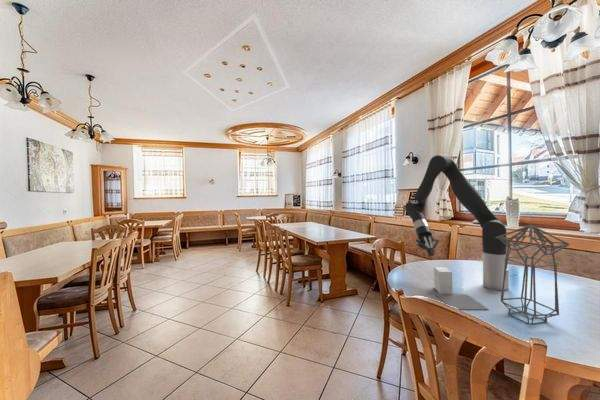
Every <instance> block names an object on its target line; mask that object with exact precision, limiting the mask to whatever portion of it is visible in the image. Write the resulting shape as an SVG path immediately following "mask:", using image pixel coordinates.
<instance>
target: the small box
mask: <svg viewBox="0 0 600 400" xmlns="http://www.w3.org/2000/svg"><path fill="white" fill-rule="evenodd" d="M433 279H434V280H433V282H434V283H433V285H434V289H435V290H436V291H437V292H438V294H453V291H454V290H453V272H452V271H451V270H450V269H449V268H447V267H445V266H444V267H437V266H434V267H433Z"/></svg>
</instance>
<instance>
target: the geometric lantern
mask: <svg viewBox="0 0 600 400" xmlns="http://www.w3.org/2000/svg"><path fill="white" fill-rule="evenodd" d="M527 231H529V232H528V235H526V233H527ZM515 233H516V234H515ZM512 234H514V235H512ZM505 235H506V237H502V236H505ZM508 235H512V236H510V237H507V236H508ZM533 235H534V236H533ZM547 236H548V237H551V238H554V239H555V240H557V241H552V240H551V239H549V238H548V237H547ZM496 238H498V239H499V240H500V241H502V242H503V243H504V244H505V245H506V248H507V249H506V258H504V259H505V266H504V277H503V286H502V290H501V293H500V302H501V303H502V304H503V305H504V306H505V307H506V308H507V310H508V313H507V314H508V315H509V317H512V318H515V319H516V320H518V321H519V322H520V321H521V322H523V323H525V324H527V325H532V324H533V325H537V324H538V325H539V324H546V323H548V318H552V317H555V316H556V317H557V316H560V307H559V291H558V264H557V261H556V259H555V258H556V257H555V254H557V253H558V252H560V251H562V250H563V249H565V248H567V247H569V246H570V242H569V243H568V242H566V241H564V240H562V239H561V238H559V237H557V236H555V235H552V234H551V233H549V232H546V231H545V230H543V229H541V228H539V227H537V226H534V225H526V226H523V227H521V228H518V229H515V230H513V231H510V232H506V234H503V235H500V236H497V237H496ZM526 238H529V243H522V242H523V241H524V240H525V239H526ZM514 239H515V241H513V240H514ZM505 240H506V241H505ZM539 241H540V242H539ZM505 242H506V243H505ZM533 242H535V243H536V245H534V244H533ZM546 243H548V244H549V246H547V245H546ZM554 244H558V245H554ZM511 246H513V248H511ZM521 246H523V247H521ZM516 247H518V248H516ZM529 247H534V248H536V247H537V248H538V250H537V251H535V253H533V255H532V256H528V255H527V253H526V252H525V251H524V250H523V249H526V248H529ZM511 251H515V252H516V253H517V254H518V256H509V255H510V253H511ZM519 251H521V252H523V254H524V255H523V256H522V254H521V253H520V252H519ZM548 251H550V252H548ZM539 252H542V253H543V254H542V255H541V256H540V257H539V258H535V256H536V255H537V254H538V253H539ZM550 255H551V256H552V262H550V261H548V260H547V261H546V260H544V259H543V260H542V258H543V257H544V256H550ZM514 258H516V259H517V258H519V259H521V260H522V262H523V263H522V262H519V261H516V260H511V259H514ZM528 259H531V263H530V264H528ZM534 260H535V262H534ZM509 261H510V262H514V263H517V264H519V265H523V267H524V268H523V276H522V277H523V278H522V285H521V286H522V289H521V295H520V297H509V298H507V297H506V298H504V295H505V290H504V286H505V278H506V271H507V269H508V264H509V263H508V262H509ZM538 262H543V263H548V264H550V265H548V264H547V265H536V264H537V263H538ZM529 267H530V287H529V288H530V291H529V292H530V293H529V298H527V297H528V280H529V279H528V276H529ZM540 267H541V268H543V267H547V268H548V267H553V270H554V272H553V273H554V308H552V307H550V306H547V305H545V304H543V303H540V302H538V301H537V299H536V297H537V296H536V295H537V294H536V268H540ZM508 300H520V302H521V306H517V307H514V306H513V305H512V304H509V303H507V302H505V301H508ZM527 301H528V302H527ZM531 302H533V309H531V308H529V305H530V303H531ZM537 305H540V306H542V307H545V308H546V309H549V310H551V312H549V313H545V314H544V313H541V312H539V311H537ZM520 308H521V310H520ZM513 309H514V310H513ZM515 310H516V311H515ZM527 310H530V311H532V312H533V313H529V312H528V311H527ZM511 311H512V312H511ZM513 314H517V315H520V316H522V317H523V318H525V319H527V321H525V320H523V319H521V318H519V317H516V316H514V315H513ZM528 316H532V317H531V318H530V317H528ZM539 319H540V320H542V321H538V322H534V320H539ZM530 320H531V323H530ZM545 322H546V323H545Z"/></svg>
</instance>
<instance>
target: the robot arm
mask: <svg viewBox="0 0 600 400" xmlns="http://www.w3.org/2000/svg"><path fill="white" fill-rule="evenodd" d="M441 172H442V173H443V175H444V176H445V177H446V178H447V180H448V182H449V185H450V187H451V190H452V193H453V195H454V197H456V200H458V201H459V203H460V204H461V205H462V206H463V207H464V208H465V210H467V211H468V212H469V213H470V214H471V215H473V217H474V218H475V220H476V221H477V223H478V224H479V225H480V227H481V236H482V239H481V241H482V244H481V245H482V286H483V287H485V288H487V289H490V290H494V291H502V286H503V277H504V266H505V259H504V258H506V254H507V246H506V245H505V244H504V243H503V242H502V241H500V240H499V239H498V238H496V237H497V236H500V235H503V234H506V233H507V228H506V226H505V224H504V223H503V222H502V221H501V220H500V219H499V218H498V217H497V216H496V215H494V213H493V212H492V211H491V210H490V209H489V207H488V206H487V204H486V202H485V201H484V199H483V198H482V196H481V194H480V193H479V192H478V191H477V189H475V187H474V186H473V185H472V184H471V183H470V181H469V180H468V179H467V177H466V176H465V175H464V174H463V173H462V172H461V170H460V168H459V167H458V166H457V164H456V162H455V161H454V159H453V157H452V156H451V155H449V154H447V153H440V154H436V155H433V156H432V157H431V159H430V160H429V162H428V165H427V168H426V170H425V174H424V176H423V178H422V180H421V183H420V185H419V187H418V188H417V190H416V192H415V193H414V196H413V198H414V199H415V201H416V202H415V201H407V202H406V203H405V205H404V207H405V212H406V213H407V215H408V216H409V217H410V219H411V220H412V223H413V228H414V231H415V233H416V237H417V238H416V239H415V241H414V244H415V245H417V246H418V247H419V248H421V249H422V250H424V251H426V252H427V254H428V256H429V257H434V256H435V249H436V248H437V245H438V244H439V242H440V239H437V238H435V237H434V236H433V233H432V231H431V228H430V225H429V224H428V221H427V219H426V217H425V215H424V213H423V212H424V210H425V206H426V202H427V200H428V198H429V196H430V195H431V192H432V190H433V187H434V183H435V181H436V179H437V178H438V177H439V175H440V173H441ZM502 237H507V235H505V236H502ZM505 241H506V240H505ZM505 243H506V242H505ZM506 244H507V243H506ZM509 271H510V270H509V269H508V268H507V271H506V278H505V286H504V291H507V290H510V288H509V286H510V284H509V281H510V279H509V277H510V275H509Z"/></svg>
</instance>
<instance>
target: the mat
mask: <svg viewBox="0 0 600 400" xmlns="http://www.w3.org/2000/svg"><path fill="white" fill-rule="evenodd" d="M434 295H435V297H437V298H438V299H439V300H440V301H441V302H443V303H444V304H445V303H446V304H448V305H450V306H453V307H456V308H458V309H460V310H459V311H489V308H488V307H486V306H485V305H484V304H482V303H481V302H479V301H477V300H476V299H475V298H473V297H472V296H470V295H468V294H466V293H457V294H456V293H454V294H440V293H435V294H434ZM446 304H445V305H446Z"/></svg>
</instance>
